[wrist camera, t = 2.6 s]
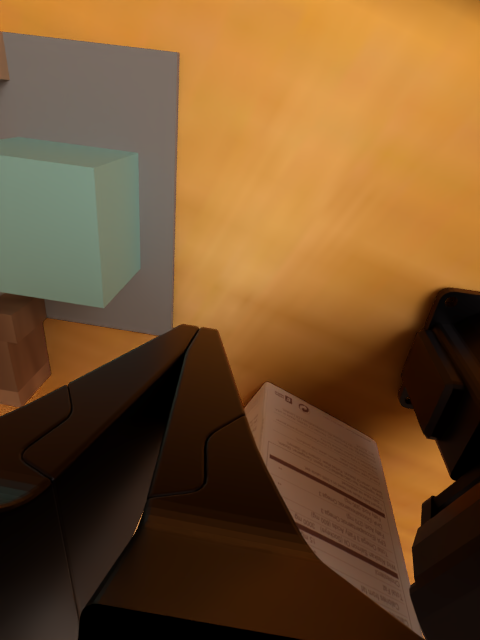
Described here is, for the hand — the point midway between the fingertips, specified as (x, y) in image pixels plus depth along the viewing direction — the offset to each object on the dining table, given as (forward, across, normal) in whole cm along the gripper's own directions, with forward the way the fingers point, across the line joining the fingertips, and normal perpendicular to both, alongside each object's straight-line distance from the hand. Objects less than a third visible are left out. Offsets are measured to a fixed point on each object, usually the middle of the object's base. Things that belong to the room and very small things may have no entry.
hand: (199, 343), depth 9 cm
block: (+9, +7, 0) cm, 11 cm away
